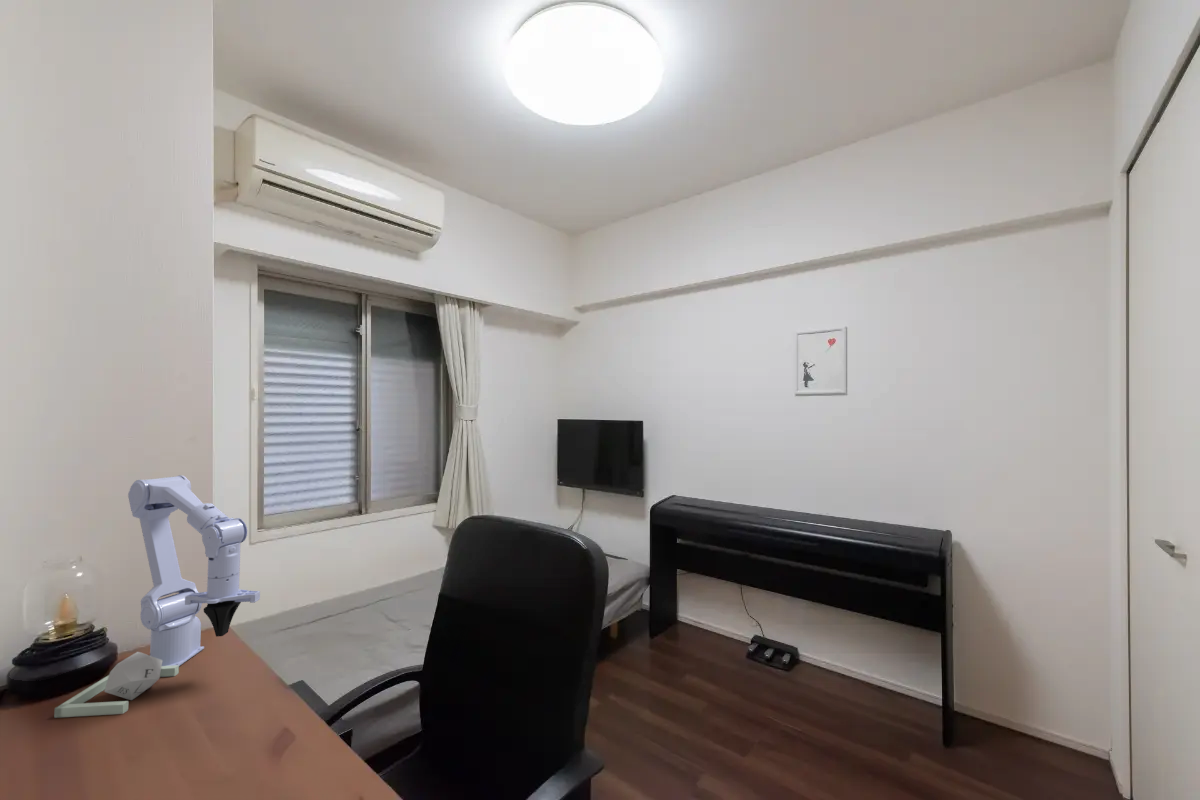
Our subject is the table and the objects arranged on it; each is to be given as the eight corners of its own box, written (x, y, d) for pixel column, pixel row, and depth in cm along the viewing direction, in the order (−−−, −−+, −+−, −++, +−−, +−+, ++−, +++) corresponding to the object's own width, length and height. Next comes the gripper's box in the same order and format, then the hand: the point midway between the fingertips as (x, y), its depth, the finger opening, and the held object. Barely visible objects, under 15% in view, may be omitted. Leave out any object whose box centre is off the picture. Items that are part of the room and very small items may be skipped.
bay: (119, 676, 106) (120, 668, 106) (178, 673, 107) (178, 665, 107) (54, 717, 92) (54, 708, 92) (122, 713, 93) (123, 704, 93)
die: (97, 715, 94) (131, 674, 95) (90, 680, 98) (123, 642, 99) (145, 707, 101) (177, 670, 102) (137, 676, 105) (167, 640, 106)
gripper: (175, 581, 102) (173, 644, 102) (247, 579, 104) (245, 641, 104) (198, 570, 109) (196, 629, 109) (266, 568, 111) (264, 626, 111)
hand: (221, 634), depth 107 cm, fingers closed
